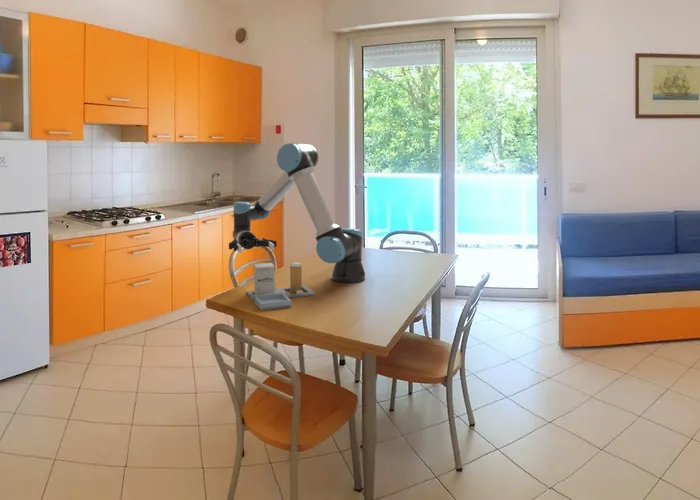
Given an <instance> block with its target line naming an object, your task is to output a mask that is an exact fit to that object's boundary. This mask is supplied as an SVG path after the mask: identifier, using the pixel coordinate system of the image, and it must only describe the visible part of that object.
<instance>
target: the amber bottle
mask: <svg viewBox="0 0 700 500" xmlns="http://www.w3.org/2000/svg"><path fill="white" fill-rule="evenodd" d="M302 269H303V267H302V263H301V262H291V263H290V266H289V274H290V277H289V278H290V279H289V280H290V281H289V283H290V284H289V287H290V290H289V292H290V293H289V294H291V293H292V294H296V291H299V290H302V291H303V289H302V286H303V282H302V281H303V279H302V278H303V276H302V275H303V274H302V273H303V272H302V271H303V270H302Z"/></svg>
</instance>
